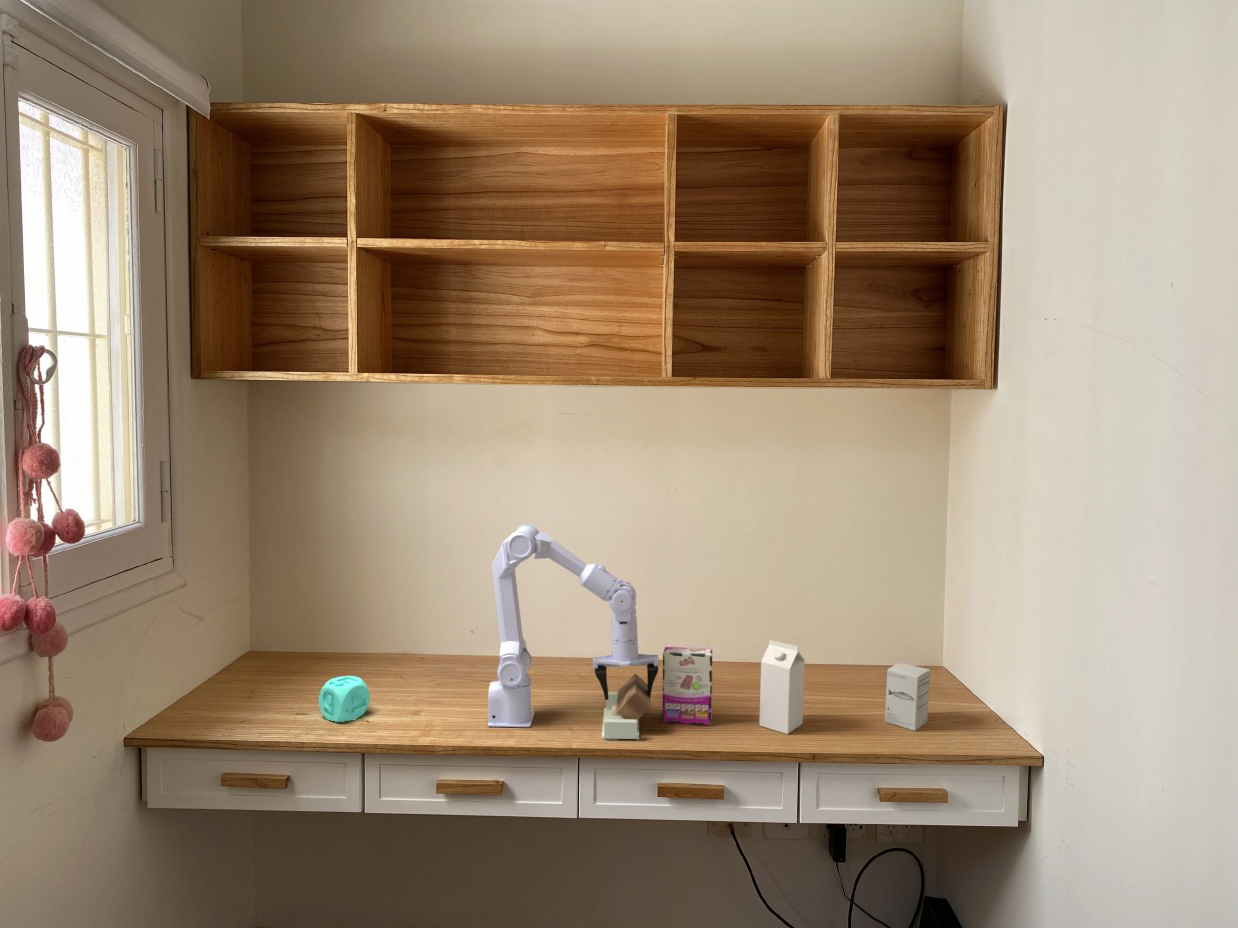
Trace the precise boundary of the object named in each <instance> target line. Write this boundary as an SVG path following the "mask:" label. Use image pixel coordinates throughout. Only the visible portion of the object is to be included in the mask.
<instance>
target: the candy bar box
mask: <svg viewBox="0 0 1238 928" xmlns="http://www.w3.org/2000/svg"><path fill="white" fill-rule="evenodd" d="M712 716H713V648H702V647H679V646H676V647H675V646H665V647H664V650H663V652H662V717H661V718H662V723H664V724H676V725H677V724H679V725H698V726H712Z"/></svg>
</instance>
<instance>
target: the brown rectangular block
mask: <svg viewBox="0 0 1238 928" xmlns="http://www.w3.org/2000/svg"><path fill="white" fill-rule="evenodd" d="M617 692H618V695H617V713H618V714H619V715H620V716H621V717H622V718H624V719H635V720H638V719H641V718H642V717H643V715H644V714H645V713H647V711H648V710H649V709H650V708H651V707H652V705H651V702H652V701H651V698H650V697H649V696H647V682H645V681H644V680H643V679H642V677H640V676H639V675H637V673H634V674H633V675H632V676H631V677H630V678H629V679H628V681H626V683H624V684H623V686H621V687H620V688H619V690H618V691H617Z"/></svg>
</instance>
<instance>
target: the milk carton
mask: <svg viewBox="0 0 1238 928" xmlns="http://www.w3.org/2000/svg"><path fill="white" fill-rule="evenodd" d="M805 665H806V660H805V659H804V657H803V655H801V653H800V651H799V646H798V645H794V644H789V643H785V642H781V641H776V640H772V639H769V644H768V646H767V648H766V650H765V652H764V654H763V656H762V659H761V664H760V690H759V691H760V693H759V694H760V695H759V696H760V697H759V698H760V699H759V726H760V727H763V728H767V729H770V730H773V731H776V732H780V733H783V734H787V735H788V734H790V733H791V732H793V731H794V730H796V729H797V728H799V727H800V726H802V725H803V722H804V721H803V717H804V694H805V690H804V689H805V667H806V666H805Z"/></svg>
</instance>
